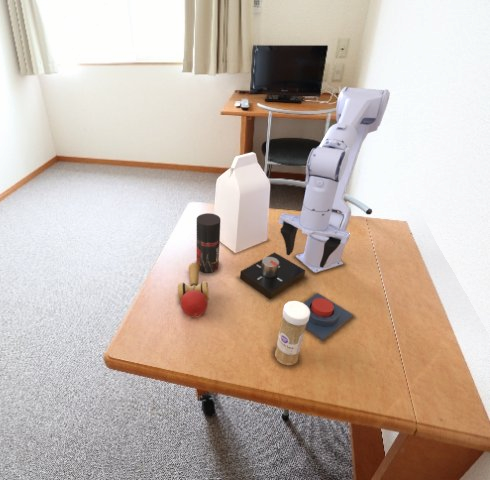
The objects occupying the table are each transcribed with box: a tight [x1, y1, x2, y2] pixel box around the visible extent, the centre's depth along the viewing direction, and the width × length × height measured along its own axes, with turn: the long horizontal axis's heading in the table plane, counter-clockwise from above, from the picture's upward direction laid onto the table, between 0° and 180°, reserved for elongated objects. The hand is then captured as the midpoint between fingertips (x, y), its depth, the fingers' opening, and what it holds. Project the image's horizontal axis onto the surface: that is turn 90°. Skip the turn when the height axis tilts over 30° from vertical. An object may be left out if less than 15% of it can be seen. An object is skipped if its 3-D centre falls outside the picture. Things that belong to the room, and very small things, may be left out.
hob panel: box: [239, 252, 306, 300], centre depth 89 cm, size 13×10×3 cm
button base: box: [303, 292, 354, 342], centre depth 78 cm, size 11×9×2 cm
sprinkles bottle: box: [274, 300, 310, 366], centre depth 66 cm, size 5×5×14 cm
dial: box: [261, 256, 279, 278], centre depth 87 cm, size 4×4×4 cm
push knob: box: [311, 298, 334, 317], centre depth 77 cm, size 4×4×2 cm
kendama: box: [177, 262, 210, 318], centre depth 85 cm, size 8×6×18 cm
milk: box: [213, 151, 271, 254], centre depth 99 cm, size 12×12×26 cm
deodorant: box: [196, 212, 221, 275], centre depth 91 cm, size 6×6×15 cm
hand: (305, 258), depth 79 cm, fingers open, 7 cm apart
